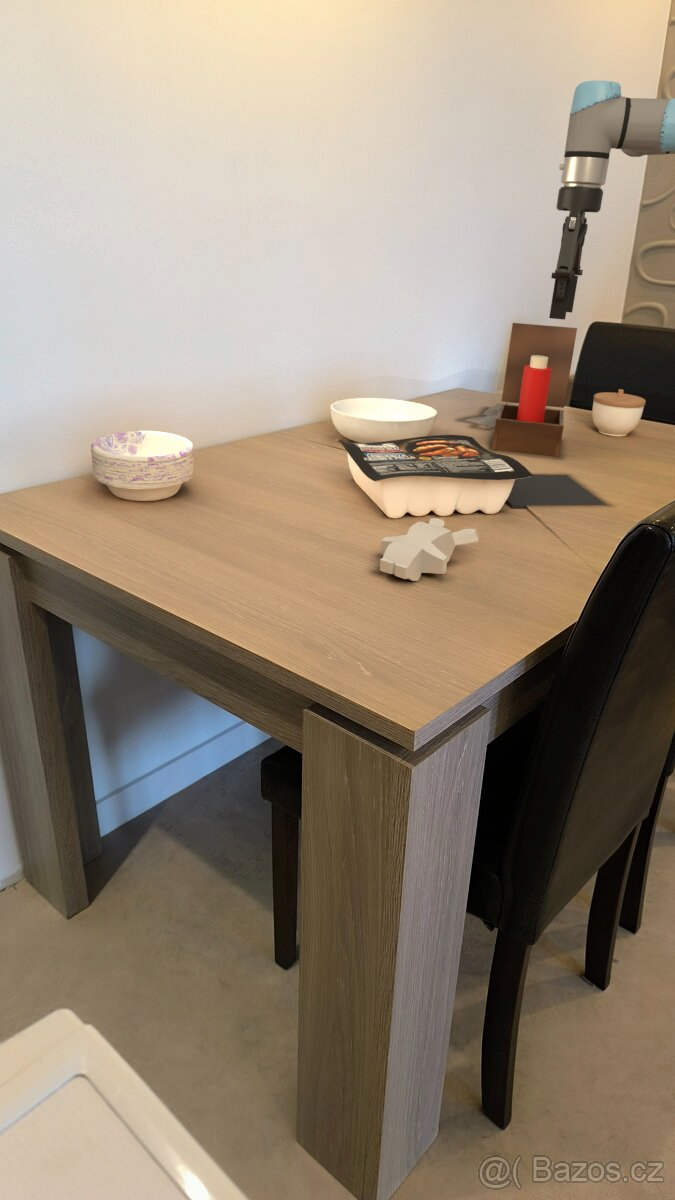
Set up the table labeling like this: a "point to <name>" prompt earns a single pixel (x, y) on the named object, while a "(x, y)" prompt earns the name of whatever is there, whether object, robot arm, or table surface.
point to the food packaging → (433, 475)
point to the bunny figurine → (422, 549)
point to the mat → (549, 492)
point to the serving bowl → (382, 419)
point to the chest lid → (543, 343)
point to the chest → (528, 432)
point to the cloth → (489, 416)
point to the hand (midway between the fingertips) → (561, 315)
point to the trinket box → (616, 412)
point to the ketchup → (534, 390)
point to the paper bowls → (142, 464)
